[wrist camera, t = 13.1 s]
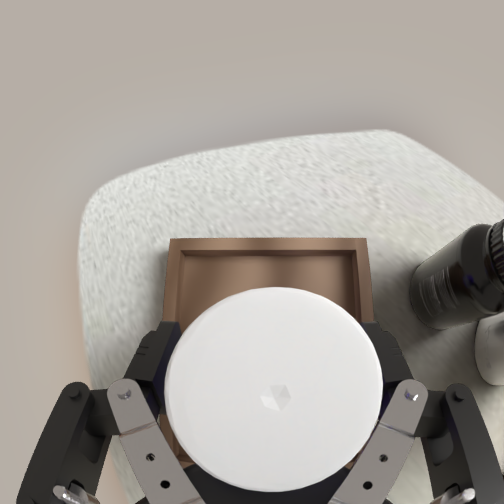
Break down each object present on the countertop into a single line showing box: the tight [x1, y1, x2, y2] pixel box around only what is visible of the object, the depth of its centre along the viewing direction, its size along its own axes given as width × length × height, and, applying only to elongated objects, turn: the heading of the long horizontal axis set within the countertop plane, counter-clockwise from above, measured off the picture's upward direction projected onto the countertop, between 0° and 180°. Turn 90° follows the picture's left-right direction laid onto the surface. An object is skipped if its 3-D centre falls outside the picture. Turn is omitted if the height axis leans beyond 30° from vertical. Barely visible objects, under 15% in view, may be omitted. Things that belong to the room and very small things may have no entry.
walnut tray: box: [160, 238, 374, 469], centre depth 21 cm, size 16×19×2 cm
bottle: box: [164, 287, 383, 492], centre depth 13 cm, size 7×6×17 cm
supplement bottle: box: [410, 219, 504, 329], centre depth 17 cm, size 7×7×12 cm
